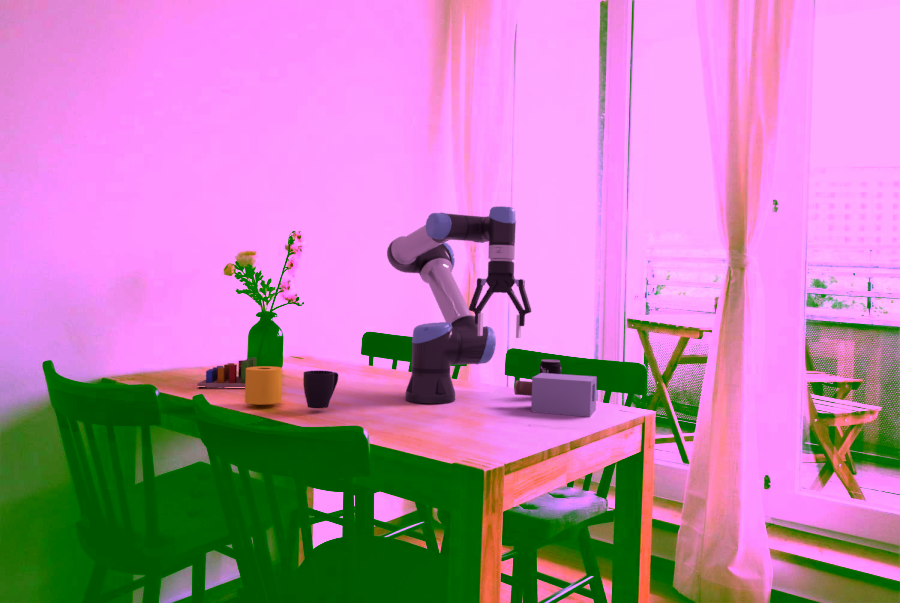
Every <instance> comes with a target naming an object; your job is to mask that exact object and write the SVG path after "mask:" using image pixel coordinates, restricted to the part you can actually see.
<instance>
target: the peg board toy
mask: <svg viewBox="0 0 900 603" xmlns="http://www.w3.org/2000/svg"><path fill="white" fill-rule="evenodd" d="M248 367H257V358H256V357H249V358H247V359H244V360H242V359H241V360H240V359H239V360H238V365H237V364H236V363H233V362H230V363H229V362H228V363H227V364H224V365H217V366H216V367H214V366H213V367H212V368H209V369H207V370H205V379H203V380H202V381H200V382H197V385H196V387H197V386H205V387H245V383H246V368H248ZM237 370H238V371H237ZM237 372H238V373H237ZM237 374H238V376H237Z"/></svg>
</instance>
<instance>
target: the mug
mask: <svg viewBox="0 0 900 603" xmlns="http://www.w3.org/2000/svg"><path fill="white" fill-rule="evenodd" d="M338 381H339V373H338V372H337V371H336V372H335V371H330V370H307V371H303V392H304V396H305V397H304V398H305V401H306V404H307V407H308V408H310V409H327V408H328V407H329V405H330V401H331V399H332V397H333V394H334V392H335V389H336V387H337V383H338Z"/></svg>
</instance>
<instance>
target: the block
mask: <svg viewBox="0 0 900 603" xmlns="http://www.w3.org/2000/svg"><path fill="white" fill-rule="evenodd" d="M597 379H598V378H597V376H596V375H595V376H594V375H593V376H592V375H578V374H577V375H576V374H564V373H563V374H562V373H561V374H550V373H540V372H539V373H538V374H537V375H535V376H532V377H531V382H532V396H531V405H530V406H531V410H530V412H532V413H540V414H554V415H564V416H573V417H574V416H575V417H576V416H577V417H585V418H586V417H588V418H590V417H591V416H592V415H593V414H594V412H595V411H596V410H597V381H598V380H597Z"/></svg>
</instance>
